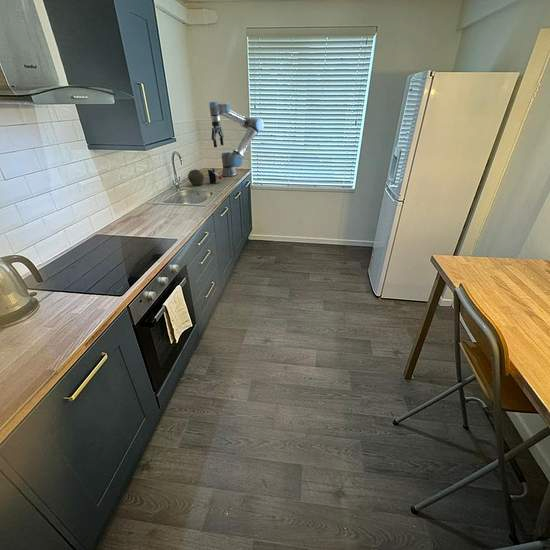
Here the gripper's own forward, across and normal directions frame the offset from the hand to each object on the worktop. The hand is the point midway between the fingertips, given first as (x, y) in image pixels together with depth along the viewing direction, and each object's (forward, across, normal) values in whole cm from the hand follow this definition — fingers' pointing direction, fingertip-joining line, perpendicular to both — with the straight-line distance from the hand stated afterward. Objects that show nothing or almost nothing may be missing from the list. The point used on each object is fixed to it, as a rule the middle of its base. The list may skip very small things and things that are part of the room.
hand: (218, 146), depth 279 cm
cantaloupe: (+32, +26, -15) cm, 44 cm away
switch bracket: (+32, +15, -4) cm, 35 cm away
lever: (+24, +15, 0) cm, 28 cm away
